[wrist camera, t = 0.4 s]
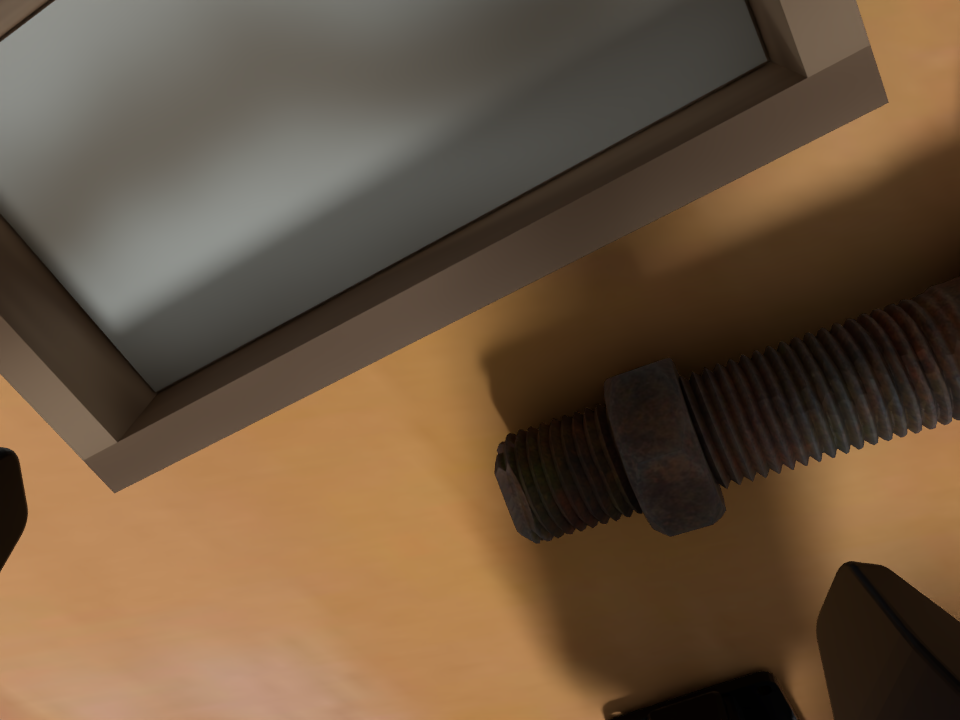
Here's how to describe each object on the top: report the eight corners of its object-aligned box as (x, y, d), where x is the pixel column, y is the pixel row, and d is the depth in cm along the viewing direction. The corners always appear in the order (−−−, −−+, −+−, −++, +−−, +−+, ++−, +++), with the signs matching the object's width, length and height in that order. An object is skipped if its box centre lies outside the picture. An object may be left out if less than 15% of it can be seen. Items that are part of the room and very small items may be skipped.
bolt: (507, 401, 25) (1010, 224, 21) (559, 550, 25) (1082, 399, 21) (451, 417, 19) (1122, 180, 15) (518, 610, 19) (1223, 419, 15)
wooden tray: (825, 76, 18) (888, 102, 15) (167, 422, 24) (114, 493, 20) (618, -514, 14) (647, -649, 11) (-132, 80, 19) (-257, 105, 16)
